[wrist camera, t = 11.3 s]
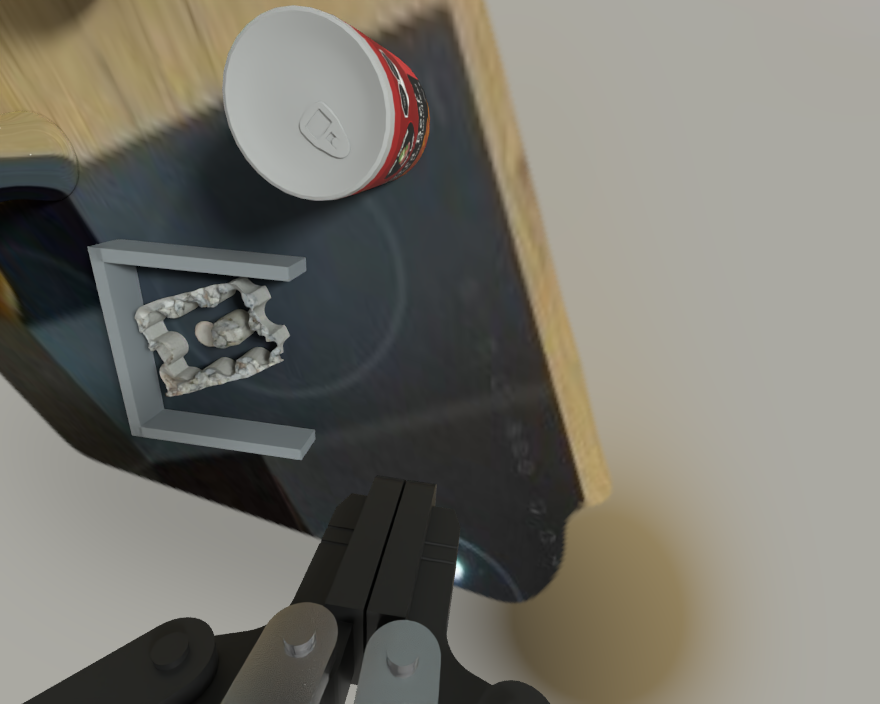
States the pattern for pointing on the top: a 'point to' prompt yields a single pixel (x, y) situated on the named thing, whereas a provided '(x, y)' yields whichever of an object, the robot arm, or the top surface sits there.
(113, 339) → the grey u-shaped frame
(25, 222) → the top surface
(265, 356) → the egg carton
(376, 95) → the canned food
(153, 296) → the top surface
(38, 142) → the beer glass
